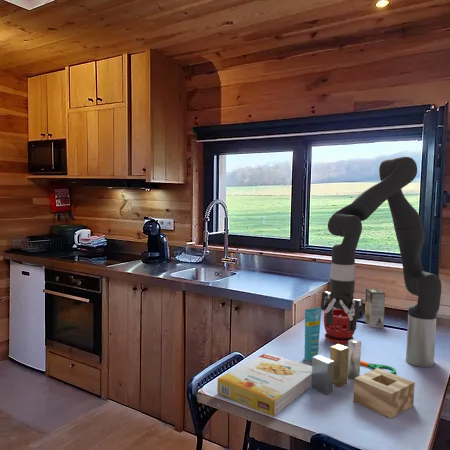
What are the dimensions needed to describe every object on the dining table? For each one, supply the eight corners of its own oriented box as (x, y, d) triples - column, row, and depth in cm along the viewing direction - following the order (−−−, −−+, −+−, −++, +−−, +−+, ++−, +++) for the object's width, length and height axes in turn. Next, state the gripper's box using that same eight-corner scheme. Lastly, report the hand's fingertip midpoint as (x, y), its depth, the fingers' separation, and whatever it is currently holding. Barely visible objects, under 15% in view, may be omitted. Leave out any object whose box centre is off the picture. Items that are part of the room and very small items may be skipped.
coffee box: (363, 321, 203) (365, 288, 201) (377, 321, 203) (378, 288, 201) (370, 327, 193) (371, 292, 192) (384, 327, 193) (385, 293, 192)
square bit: (337, 379, 140) (338, 343, 139) (347, 383, 137) (348, 347, 136) (329, 382, 138) (330, 346, 137) (339, 387, 135) (340, 350, 134)
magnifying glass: (398, 372, 148) (398, 367, 147) (392, 377, 143) (392, 373, 143) (355, 360, 157) (355, 356, 157) (349, 365, 152) (349, 361, 152)
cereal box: (216, 377, 128) (265, 350, 151) (216, 395, 129) (264, 365, 151) (275, 399, 116) (318, 366, 139) (274, 419, 117) (317, 382, 139)
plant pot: (355, 348, 168) (356, 318, 167) (321, 344, 172) (322, 314, 171) (356, 337, 180) (357, 309, 179) (324, 333, 184) (325, 306, 183)
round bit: (351, 373, 145) (353, 338, 144) (362, 377, 142) (363, 342, 141) (344, 376, 143) (345, 341, 142) (354, 380, 140) (356, 344, 139)
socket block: (376, 389, 133) (377, 368, 133) (413, 405, 124) (414, 382, 123) (353, 401, 126) (354, 378, 125) (390, 418, 116) (391, 394, 116)
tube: (308, 363, 153) (310, 311, 151) (299, 358, 157) (300, 307, 155) (323, 359, 157) (325, 308, 155) (313, 354, 161) (315, 304, 159)
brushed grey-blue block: (317, 385, 136) (318, 354, 135) (332, 392, 131) (334, 360, 130) (311, 387, 134) (312, 357, 133) (326, 395, 129) (327, 363, 128)
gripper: (369, 280, 131) (366, 331, 133) (331, 272, 142) (329, 319, 144) (354, 283, 127) (352, 336, 128) (317, 274, 138) (315, 324, 139)
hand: (340, 327), depth 136 cm, fingers open, 8 cm apart
